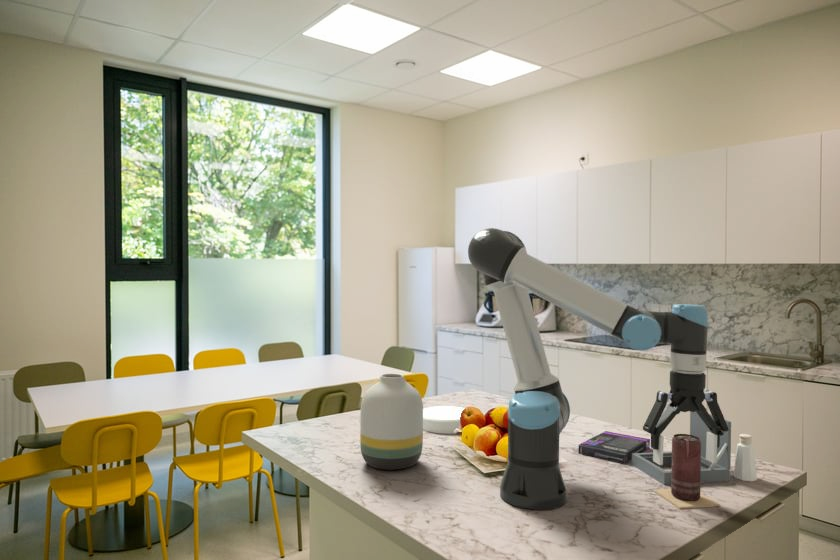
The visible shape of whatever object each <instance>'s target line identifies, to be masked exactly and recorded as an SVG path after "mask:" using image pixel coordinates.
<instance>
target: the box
mask: <svg viewBox="0 0 840 560" xmlns="http://www.w3.org/2000/svg"><path fill="white" fill-rule="evenodd" d="M650 448H651V438H646V437H645V438H644V437H639V436H633V435H628V434H622V433H617V432H612V431H603V432H601V433H599V434H597V435H595V436H593V437H591V438H589V439H587V440H585V441H583V442H581V443H579V444H578V449H577V450H578V452H577V453H578V454H580V455H585V456H589V457H593V458H598V459H601V460H606V461H610V462H615V463H619V464H624V465H626V464H627V463H629V462H632V453H645V452H646V451H648V450H649V449H650ZM647 449H648V450H647ZM644 451H645V452H644Z"/></svg>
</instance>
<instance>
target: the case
mask: <svg viewBox="0 0 840 560" xmlns="http://www.w3.org/2000/svg"><path fill="white" fill-rule="evenodd" d="M689 412H690V414H689V417H690V418H689V420H690V421H689V435H693V436H696V437H698V438H699V439H700V441H701V480H700V484H704V483H719V482H720V483H721V482H730V478H731V477H730V476H731V475H730V474H731V473H730V471H731V461H732V460H731V458H732V456H731V455H732V452H731V451H732V421H730V420H728V419H725V421H726V424H727V426H728V431H727V432H725V431H724V434H723V435H722V436H721V435H720V445H719V448H717V461H716V463H712V462H710V461H708V460H706V438H707V432H711V431H710V430H709V428H708V427H707V426H706V424H705V423H704V422H703V420H702V419H701V418H700V416H699V415H698V414H697V412H696V411H695V412H691V411H689ZM708 414H709V415H710V416H711V418H712V419H713V417H712V414H711V413H709V412H708ZM713 420H714V419H713ZM714 422H715V421H714ZM631 465H632V466H633V467H635V468H637V469H638V470H640V471H641V472H642V473H645V474H646V475H648V476H649V477H651V478H653V479H654V480H656V481H657V482H659V483H661V484H662V485H664V486H666V485H667V486H668V485H670V486H671V474H672V470H665V469H663V467H670V466H671V467H672V451H663V465H659V464H657V463H655V462H654V461H653V452H643V453H632V460H631Z"/></svg>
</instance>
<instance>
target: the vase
mask: <svg viewBox="0 0 840 560" xmlns="http://www.w3.org/2000/svg"><path fill="white" fill-rule="evenodd" d="M423 409H424V404H423V399H422V396H421V393H420V392H419V391H418V390H417V388H416V387H414V386H412V385H411V384H410V383H409V382H407V380H406V378H405V375H404V374H401V373H384V374H381V375H380V376H379V380H378V381H377V382H375V383H374V384H373V385H372V386H370V387H368V389H367V390H366V391H365V392H364V394H363V396H362V399H361V402H360V421H359V422H360V423H359V424H360V425H359V426H360V427H359V428H360V430H359V431H360V432H359V435H360V437H359V438H360V441H359V444H360V453H361V456H362V458H363V460H364V462H365V463H366V464H367V465H369V466H371V467H373V468H376V469H379V470H389V471H390V470H391V471H393V470H394V471H395V470H402V469H407V468H410V467H411V466H413V465H415V464H416V463H417V462H418V461H419V459H420V458H421V456H422V452H423V446H424V445H423V443H424V442H423V441H424V438H423V437H424V436H423V435H424V430H423Z"/></svg>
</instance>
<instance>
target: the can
mask: <svg viewBox="0 0 840 560" xmlns="http://www.w3.org/2000/svg"><path fill="white" fill-rule="evenodd" d="M671 452H672V466H671V471H672V474H671V485H670V486H671V488H670V489H671V493H672V495H673V496H674V497H675V498H677V499H680V500H683V501H697V500H699V498H700V493H701V483H700V480H701V441H700V439H699V438H698V437H696V436H693V435H690V434H688V433H676V434H673V437H672V439H671Z"/></svg>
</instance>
